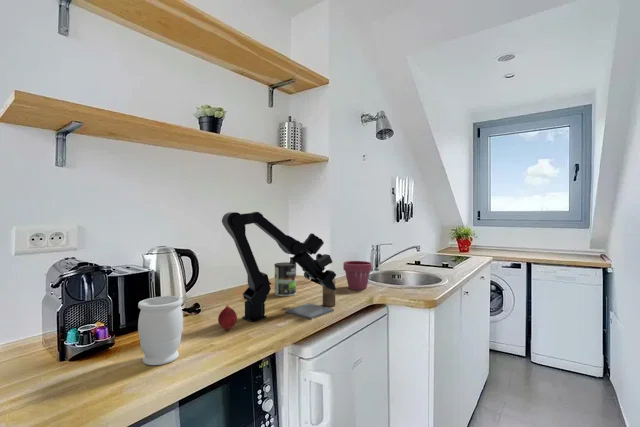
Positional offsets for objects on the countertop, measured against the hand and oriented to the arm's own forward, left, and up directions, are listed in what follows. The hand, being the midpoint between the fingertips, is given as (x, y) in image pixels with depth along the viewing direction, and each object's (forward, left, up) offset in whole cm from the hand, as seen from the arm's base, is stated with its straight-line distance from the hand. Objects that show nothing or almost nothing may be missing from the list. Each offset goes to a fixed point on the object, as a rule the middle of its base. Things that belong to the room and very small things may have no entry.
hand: (331, 288), depth 133 cm
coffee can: (+1, +29, -7) cm, 29 cm away
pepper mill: (-1, +1, -7) cm, 7 cm away
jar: (-67, +3, -7) cm, 68 cm away
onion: (-44, +8, -7) cm, 46 cm away
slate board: (-13, +1, -7) cm, 14 cm away
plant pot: (+33, +10, -7) cm, 35 cm away
